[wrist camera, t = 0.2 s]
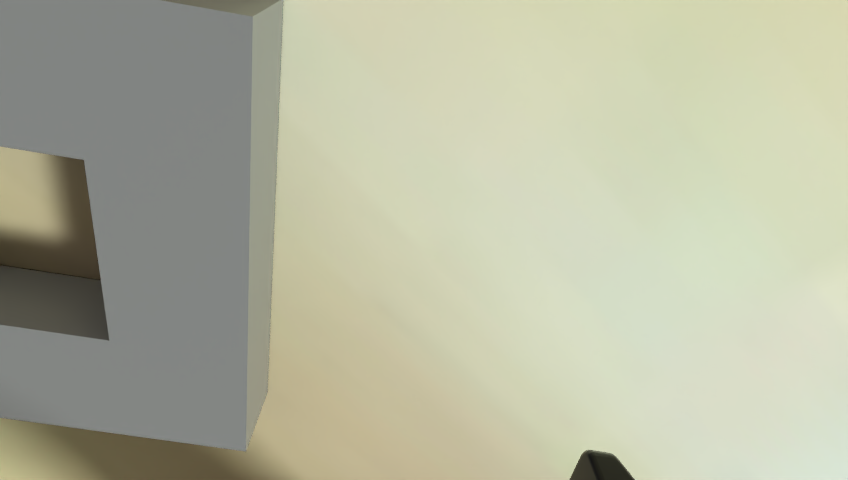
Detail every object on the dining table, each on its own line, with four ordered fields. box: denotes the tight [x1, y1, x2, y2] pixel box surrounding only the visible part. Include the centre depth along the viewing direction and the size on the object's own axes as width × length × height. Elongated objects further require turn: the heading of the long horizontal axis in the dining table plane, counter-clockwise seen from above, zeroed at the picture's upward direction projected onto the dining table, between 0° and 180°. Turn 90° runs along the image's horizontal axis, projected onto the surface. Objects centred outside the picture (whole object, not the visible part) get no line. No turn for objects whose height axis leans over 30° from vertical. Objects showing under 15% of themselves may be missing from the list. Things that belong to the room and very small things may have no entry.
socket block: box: [0, 0, 283, 451], centre depth 22 cm, size 18×18×4 cm
